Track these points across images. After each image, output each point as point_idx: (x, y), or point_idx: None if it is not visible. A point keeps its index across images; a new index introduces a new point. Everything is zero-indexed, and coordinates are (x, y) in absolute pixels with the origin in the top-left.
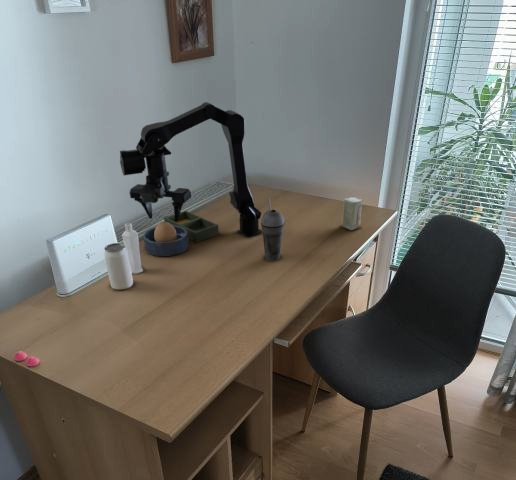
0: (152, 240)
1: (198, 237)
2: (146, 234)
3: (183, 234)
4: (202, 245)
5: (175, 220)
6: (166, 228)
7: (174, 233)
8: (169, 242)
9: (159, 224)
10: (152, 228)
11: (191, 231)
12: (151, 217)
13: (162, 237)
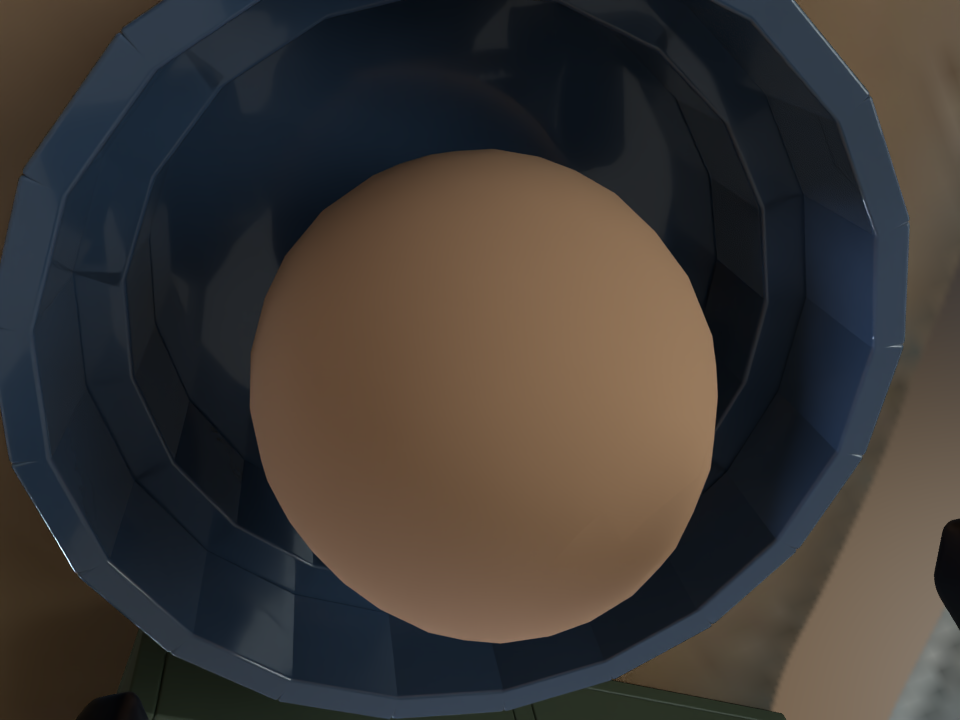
0: (734, 304)
1: (130, 668)
2: (857, 260)
3: (308, 605)
4: (3, 560)
5: (118, 711)
6: (382, 416)
7: (260, 448)
8: (101, 59)
9: (627, 460)
10: (836, 476)
11: (243, 718)
12: (949, 569)
13: (414, 200)
